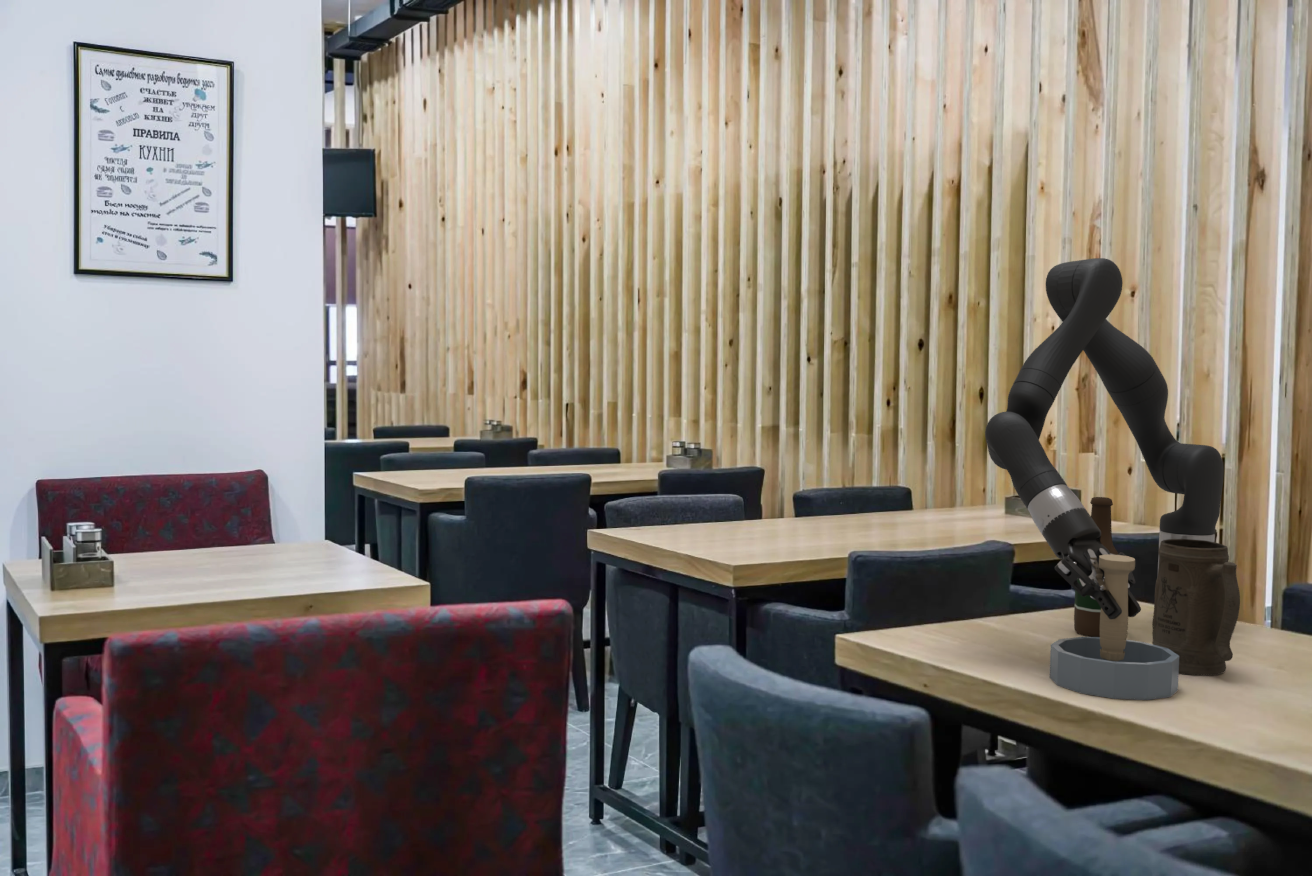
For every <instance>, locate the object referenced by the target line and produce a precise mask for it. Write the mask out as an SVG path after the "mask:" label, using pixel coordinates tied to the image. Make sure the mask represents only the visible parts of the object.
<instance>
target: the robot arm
mask: <svg viewBox="0 0 1312 876" xmlns="http://www.w3.org/2000/svg"><path fill="white" fill-rule="evenodd" d="M1122 290H1123V276H1122V272H1121V270H1120V268H1119V267H1118V265H1117V264H1116V263H1115V262H1114V261H1113V260H1111V259H1108V258H1104V257H1099V258H1094V257H1093V258H1087V259H1081V260H1073V261H1067V262H1061V263H1059V264H1056V265H1054V266H1053V267H1052V268H1051V269H1050V270H1049V271H1048V272H1047V275H1046V277H1045V292H1046V296H1047V299H1048V302H1049V304H1050V306H1051V308H1052V309H1053V311H1054V312H1055V314H1056V315H1057V317H1058V318H1059V319H1060V321H1061V324H1059V326H1057V328H1056V329H1055V330H1054V331H1053V332H1052V333H1051V334H1050V335H1048V337H1047V338H1045V339H1044V340H1043V341H1042V342H1040V344H1039V345H1038V346H1037V347H1036V348H1035V349H1034V350H1033V351H1032V352H1031V353H1030V354H1029V356H1028V357H1027V358H1026V360H1025V361H1024V362H1023V364H1022V366H1021V368H1020V370H1019V372H1018V374H1017V375H1016V378H1015V380H1014V382H1013V383H1012V386H1011V387H1010V390H1009V393H1008V396H1007V405H1006V406H1007V407H1006V411H1001V412H998V413H997V414H994V415H993V416H992V417H991V418H990V419H989V421H988V422H987V424H986V427H985V432H984V433H985V435H984V436H985V440H986V447H987V449H988V455H989V456H990V459H991V460H992V462H993V464H995V465H996V467H998V468H1000V469H1001V470H1002V469H1004V470H1005V471H1007V473H1008V474H1009V476H1010V479H1011V483H1012V486H1013V488H1014V490H1015V492H1016V493H1017V495H1018V497H1019V498H1020V500H1021V501H1022V503H1023V505H1024V506H1025V508H1026V510H1027V511H1028V512H1029V514H1030V516H1031V519H1032V521H1033V523H1034V524H1035V526H1036V527H1037V529H1038V530H1039V532H1040V534H1041V535H1042V537H1043V538H1044V540H1045V541H1046V543H1047V544H1048V546H1049V548H1050V549H1051V550H1052V552H1053V553H1054V555H1055V556H1056V558H1058V559H1059V560H1060V561H1059V562H1058V563H1057V564H1056V565H1055V566H1054V570H1055V572H1057V573H1058V574H1059V575H1060V576H1061V577H1062V578H1063V579H1064V580H1065V581H1066V582H1067V583H1068V584H1069V585H1070V586H1071V587H1072V588H1073V589H1074V591H1075V590H1076V591H1077V592H1078V593H1079V594H1080V595H1081V596H1083V597H1085V596H1086V595H1089V596H1090V597H1091V598H1092V599H1094V600H1095V599H1096V601H1097V602H1098V604H1099V605H1100V607H1101V608H1102V610H1103V611H1104V613H1105V614H1106V615H1107V616H1108V618H1109V619H1116V618H1117V617H1118V616H1119V615H1120V614H1121V613H1122V609H1121V608H1120V606H1119V605H1118V603H1117V602H1116V600H1115V599H1114V597H1113V596H1112V594H1111V593H1110V591H1105V590H1106V589H1107V588H1106V585H1105V583H1104V571H1103V570H1102V569H1101V568H1099V556H1100V555H1114V554H1111V553H1110V552H1109V550H1108V549H1107V548H1105V547H1104V546H1103V545H1102V544H1101V542H1100V538H1101V531H1100V529H1099V528H1098V526H1097V525H1096V523H1095V522H1094V520H1093V519H1092V517H1091V514H1089V512H1088V510H1087V509H1086V507H1085V506H1084V505H1083V503H1082V502H1081V499H1079V497H1078V495H1076V494H1075V492H1073V491H1072V489H1070V487H1069V486H1068V484H1067V483H1066V482H1065V480H1064V479H1063V477H1062V475H1061V474H1060V472H1059V471H1058V470H1057V469H1056V468H1055V466H1054V465H1053V464H1052V462H1051V460H1050V459H1049V458H1048V456H1047V454H1046V451H1045V449H1044V447H1043V445H1042V443H1041V441H1040V438H1041V435H1042V432H1043V428H1044V426H1045V422H1046V419H1047V415H1048V413H1049V411H1050V409H1051V408H1052V406H1053V404H1054V402H1055V400H1056V398H1057V396H1058V395H1059V392H1060V390H1061V388H1062V385H1063V384H1064V382H1065V380H1066V378H1067V376H1068V374H1069V372H1070V371H1071V369H1072V368H1073V366H1074V364H1075V363H1076V361H1077V359H1078V358H1080V355H1081V354H1082V352H1084V354H1085V355H1086V357H1087V358H1088V360H1089V361H1090V364H1091V365H1092V367H1093V368H1094V369H1095V371H1096V373H1097V374H1098V376H1099V378H1100V380H1101V382H1102V384H1103V386H1104V388H1105V389H1106V391H1107V393H1108V394H1109V397H1110V398H1111V400H1112V401H1113V403H1114V405H1115V406H1116V407H1117V409H1118V410H1119V412H1120V414H1121V416H1122V417H1123V419H1124V421H1125V423H1126V425H1127V426H1128V428H1129V430H1130V432H1131V434H1132V436H1133V437H1134V440H1135V441H1136V443H1137V445H1138V448H1139V451H1140V452H1141V455H1142V458H1143V459H1144V462H1145V464H1146V466H1147V469H1148V472H1149V473H1150V476H1151V477H1152V479H1153V480H1154V483H1156V485H1157V487H1159V488H1160V489H1161V490H1162V491H1165V492H1167V493H1171V494H1178V495H1183V501H1182V505H1181V506H1180V507H1179V508H1177V509H1176V510H1174V511H1172V512H1171V511H1170V512H1168V513H1164V514H1163V515H1161V516H1160V518H1159V519H1160V520H1159V532H1158V533H1159V534H1158V535H1159V537H1158V549H1159V548H1160V543H1161V541H1163V540H1167V539H1192V540H1205V541H1210V542H1215V539H1216V538H1215V537H1216V526H1217V524H1218V520H1219V518H1220V514H1221V505H1222V495H1223V486H1224V474H1225V473H1224V472H1225V471H1224V470H1225V469H1224V461H1223V458H1222V455H1221V453H1220V452H1219V450H1218V449H1217V448H1215V447H1213V446H1210V445H1205V444H1193V443H1181V442H1179V441H1178V440H1177V439H1176V438H1175V436H1174V435H1173V434H1172V432H1171V430H1170V429H1169V427H1168V425H1167V422H1166V418H1165V416H1166V409H1167V406H1168V398H1169V386H1168V384H1167V381H1166V378H1165V377H1164V375H1163V373H1162V371H1161V370H1160V368H1159V367H1158V364H1157V363H1156V361H1155V359H1154V357H1153V356H1152V355H1151V353H1149V351H1148V350H1147V349H1146V348H1144V347H1143V346H1142V345H1140V343H1138V342H1137V341H1135V340H1134V339H1133V338H1131V337H1130V336H1128V334H1125V333H1124V332H1123V331H1121V330H1119V329H1118V328H1116V326H1114V325H1113V324H1112V323H1111V322H1109V320H1108V317H1109V315H1110V314H1111V313H1112V311H1113V310H1114V308H1115V307H1116V305H1117V304H1118V301H1119V299H1120V297H1121V295H1122V292H1123V291H1122ZM1215 543H1216V542H1215ZM1118 555H1123V556H1127V555H1126V554H1125V553H1124V552H1122V551H1121V552H1118ZM1158 569H1159V556H1158V562H1157V570H1158ZM1078 578H1079V580H1080V582H1081V584H1082V586H1083V587H1082V586H1081V585H1080V584H1079V583H1078V582H1077V579H1078ZM1095 583H1096V584H1095ZM1134 584H1136V579H1135V576H1134V574H1133V571H1131V572H1130V573H1129V574H1128V618H1134V617H1136V616H1138V614H1139V613H1140V612H1141V610H1142V608H1141V606H1140V604H1139V602H1138V600H1137V599H1136V597H1135V596H1134V594H1133V593H1132V591H1130V588H1131V587H1132V586H1133V585H1134Z"/></svg>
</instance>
